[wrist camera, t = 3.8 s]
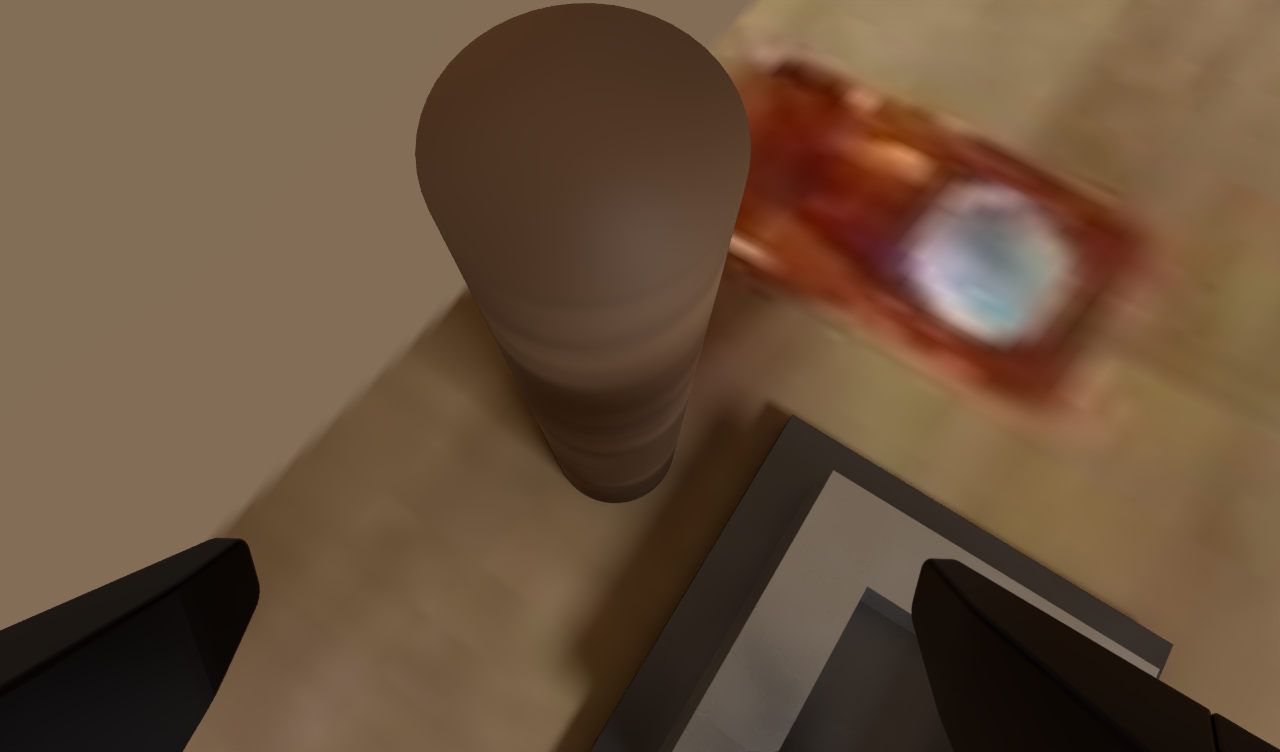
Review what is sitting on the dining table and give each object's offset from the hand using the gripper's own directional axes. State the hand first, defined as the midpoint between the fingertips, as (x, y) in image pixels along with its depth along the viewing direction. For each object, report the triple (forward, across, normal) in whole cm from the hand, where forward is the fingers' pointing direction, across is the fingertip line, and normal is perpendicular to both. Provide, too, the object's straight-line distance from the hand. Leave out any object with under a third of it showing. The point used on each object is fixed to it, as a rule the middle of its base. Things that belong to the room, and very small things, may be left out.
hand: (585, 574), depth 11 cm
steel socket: (+6, +7, -11) cm, 15 cm away
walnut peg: (+12, 0, -6) cm, 13 cm away
